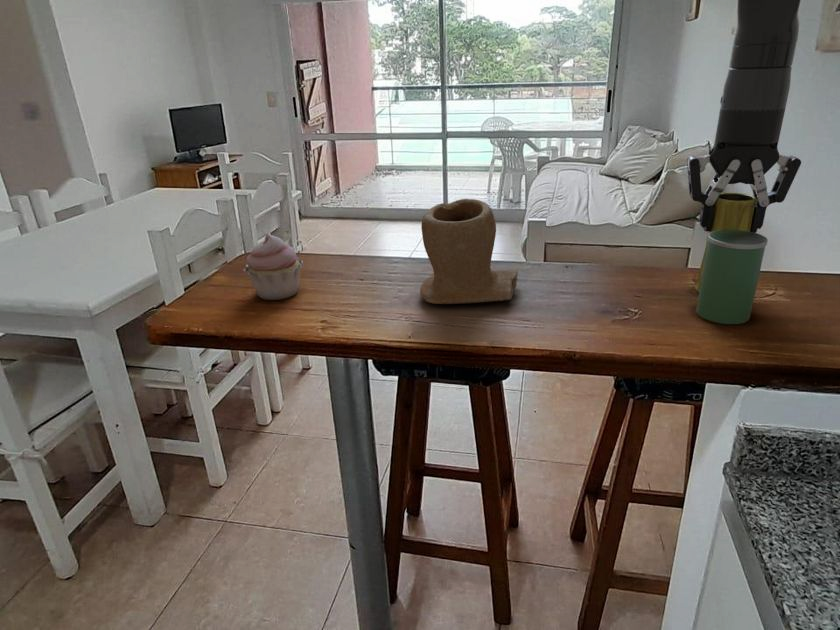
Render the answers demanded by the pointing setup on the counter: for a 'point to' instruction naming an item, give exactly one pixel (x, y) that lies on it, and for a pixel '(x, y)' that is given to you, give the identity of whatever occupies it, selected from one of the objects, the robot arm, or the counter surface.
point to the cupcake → (274, 269)
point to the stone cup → (463, 255)
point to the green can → (730, 276)
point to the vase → (730, 218)
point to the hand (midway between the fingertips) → (729, 230)
